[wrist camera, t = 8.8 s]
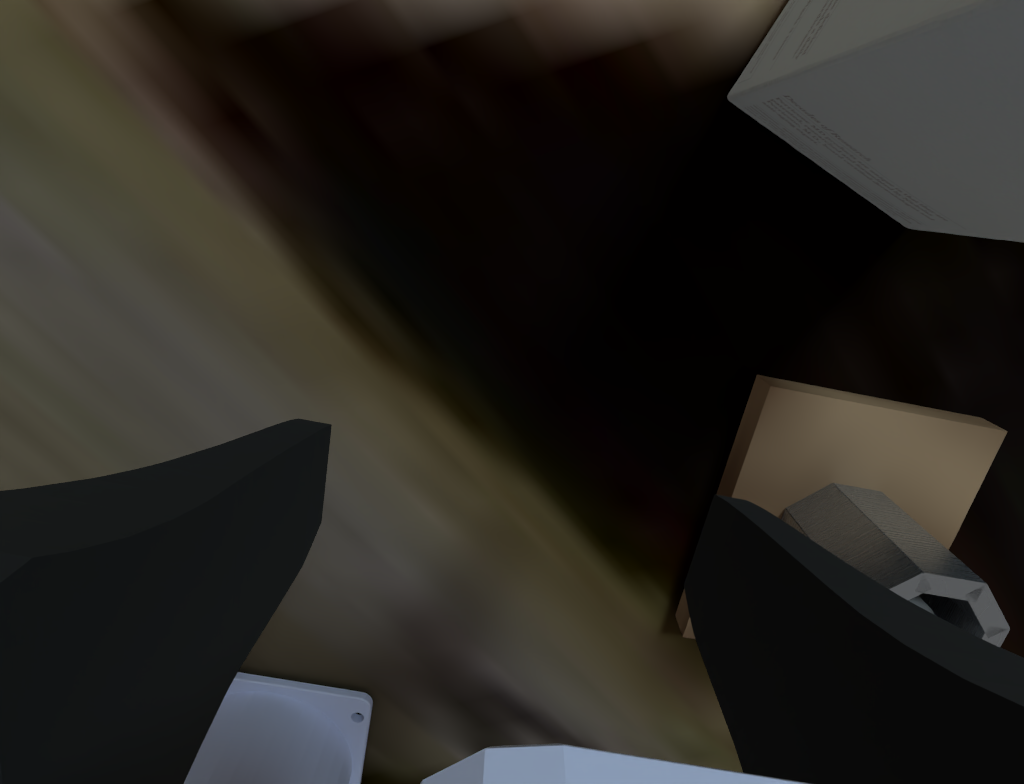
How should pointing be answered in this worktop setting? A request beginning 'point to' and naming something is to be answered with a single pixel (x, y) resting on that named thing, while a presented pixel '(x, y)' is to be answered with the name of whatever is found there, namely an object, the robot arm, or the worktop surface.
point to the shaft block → (856, 456)
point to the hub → (898, 555)
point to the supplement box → (903, 105)
